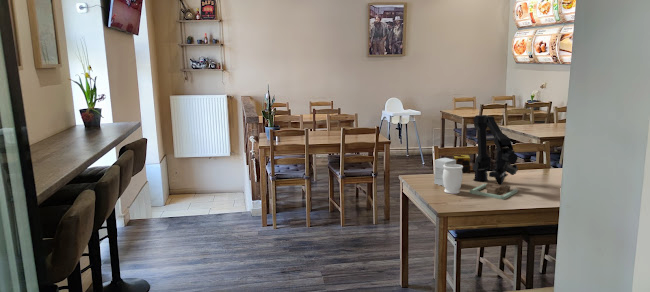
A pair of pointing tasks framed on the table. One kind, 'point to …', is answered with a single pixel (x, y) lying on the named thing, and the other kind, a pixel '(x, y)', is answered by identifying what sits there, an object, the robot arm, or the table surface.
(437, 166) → the supplement box
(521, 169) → the table surface
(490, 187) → the t block
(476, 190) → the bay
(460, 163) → the yellow and brown box
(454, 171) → the jar
